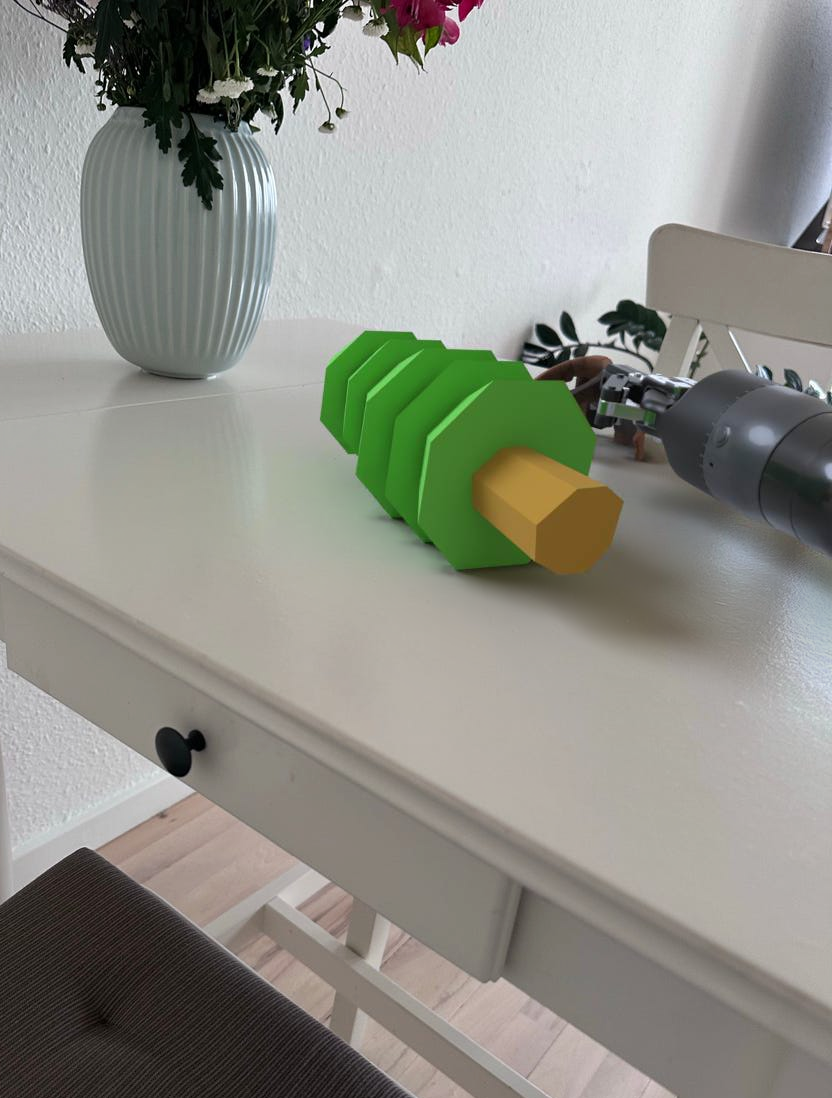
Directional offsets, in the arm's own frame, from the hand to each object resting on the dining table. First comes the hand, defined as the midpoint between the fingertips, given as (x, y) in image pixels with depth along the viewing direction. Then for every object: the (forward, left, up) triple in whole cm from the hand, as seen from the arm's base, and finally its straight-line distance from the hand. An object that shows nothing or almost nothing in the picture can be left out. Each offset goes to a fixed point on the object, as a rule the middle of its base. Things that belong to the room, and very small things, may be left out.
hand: (611, 378), depth 72 cm
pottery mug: (-1, -4, -7) cm, 8 cm away
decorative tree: (+18, +12, -7) cm, 23 cm away
